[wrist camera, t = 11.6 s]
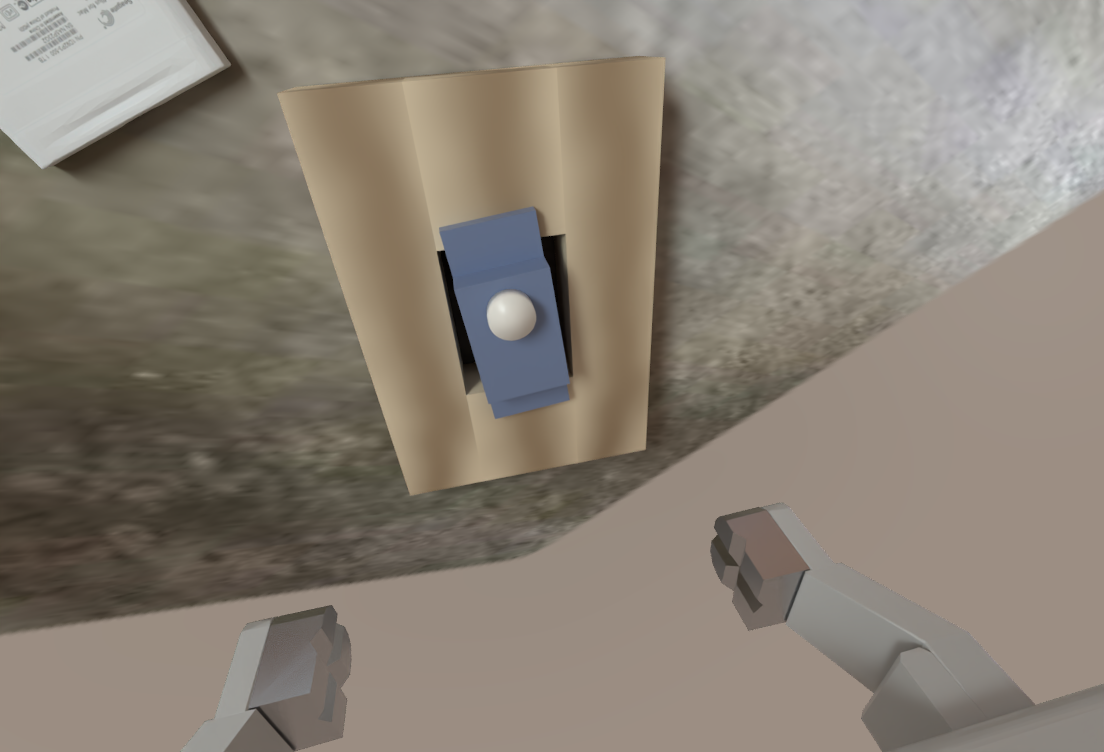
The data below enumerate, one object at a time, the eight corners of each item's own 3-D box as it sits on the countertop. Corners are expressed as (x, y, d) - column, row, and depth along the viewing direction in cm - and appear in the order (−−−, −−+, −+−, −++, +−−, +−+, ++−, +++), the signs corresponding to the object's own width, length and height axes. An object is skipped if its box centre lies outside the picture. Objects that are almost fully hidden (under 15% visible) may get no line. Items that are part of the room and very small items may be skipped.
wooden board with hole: (412, 459, 31) (410, 495, 28) (296, 87, 20) (277, 93, 17) (629, 419, 33) (645, 449, 30) (638, 56, 21) (665, 57, 19)
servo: (488, 379, 29) (499, 445, 24) (438, 207, 23) (439, 249, 18) (555, 363, 29) (579, 425, 24) (521, 188, 23) (545, 225, 19)
